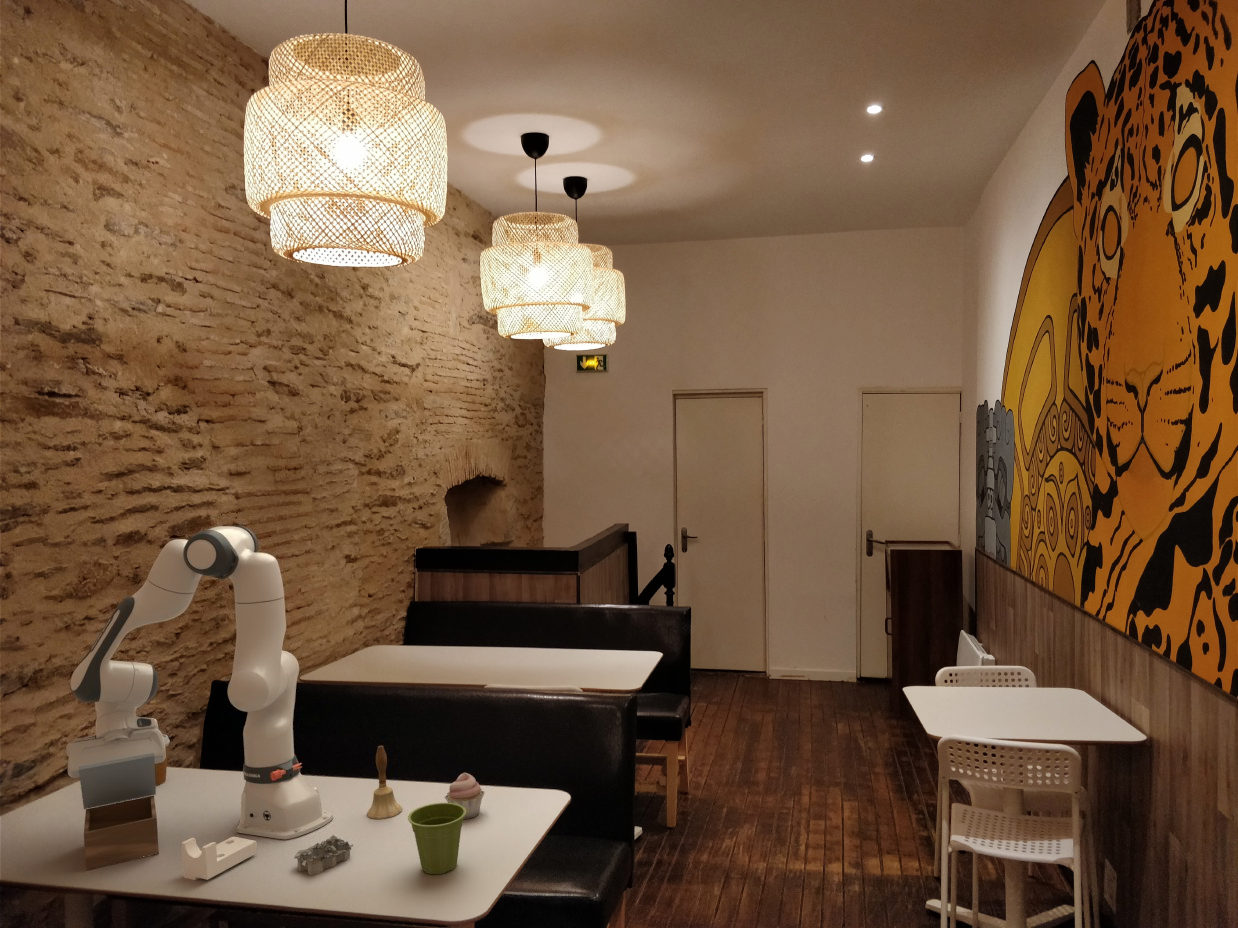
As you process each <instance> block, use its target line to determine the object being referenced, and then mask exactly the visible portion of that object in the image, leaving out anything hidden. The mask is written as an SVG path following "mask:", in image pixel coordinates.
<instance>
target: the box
mask: <svg viewBox="0 0 1238 928" xmlns="http://www.w3.org/2000/svg"><path fill="white" fill-rule="evenodd" d="M155 800H156V799H155V795H151V796H146V797H141V798H137V799H132V800H127V801H122V802H117V803H112V804H107V805H102V806H97V807H92V808H87V809H85V814H84V815H85V816H84V829H83V843H84V844H83V845H84V860H85V861H84V862H85V871H91V870H95V869H98V868H99V869H100V868H103V867H107V866H112V865H116V863H117V864H120V862H121V863H125V862H129V861H128V860H130V861H133V860H132V859H134V860H137V858H138V859H141V858H140V857H143V856H147V857H149V856H148V855H151V856H154V854H155V855H159V854H160V850H159V849H160V847H159V835H158V834H159V833H158V832H159V831H158V818H157V817H158V816H157V810H156V809H157V808H156V801H155ZM158 853H159V854H158ZM143 858H144V857H143ZM124 861H125V862H124Z"/></svg>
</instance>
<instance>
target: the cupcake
mask: <svg viewBox="0 0 1238 928" xmlns="http://www.w3.org/2000/svg"><path fill="white" fill-rule="evenodd" d="M448 789H449V792H446V795H445V796H444V799H445V801H446V803H455V804H459V805H461V806H463V807H464V808H465V809H466V814H465V816H464V817H463V820H467V819H471V818H474V817H477V816H478V815H479V813H480V810H481V805H482V799H483V798H484V795H485V793H486V792H485V791H484V790H483V789H482V788H481V785H480V784H479V782H478V781H476V778H475V777H474V776H473V775H471V774H470V773H467V772H463V773H461V774H460V775H458V777H457V778H456V780H455V781H453V782H452V783H451V784H450V785H449V788H448Z"/></svg>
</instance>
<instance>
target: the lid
mask: <svg viewBox="0 0 1238 928" xmlns="http://www.w3.org/2000/svg"><path fill="white" fill-rule="evenodd" d="M79 776H80V777H79V783H80V790H81V798H82V805H83V810H86V809H89V808H94V807H99V806H104V805H109V804H114V803H119V802H124V801H129V800H134V799H139V798H143V797H148V796H153V795H154V796H156V795H157V789H156V787H157V786H156V784H155V758H154V753H150V754H145V755H139V756H134V757H128V758H123V759H118V760H112V761H107V762H101V763H96V764H90V765H85V766H79Z"/></svg>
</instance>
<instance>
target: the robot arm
mask: <svg viewBox="0 0 1238 928" xmlns="http://www.w3.org/2000/svg"><path fill="white" fill-rule="evenodd" d="M258 550H259V540H258V538H257V536H256V534H255V533H254V532H253V531H252V530H251V529H249V528H247V527H245V526H242V525H236V524H234V525H233V524H232V525H228V526H227V525H226V526H224V525H221V526H216V527H215V526H214V527H211V528H208V529H204V530H200V531H198V532H196V533H195V534H193V535H192V536H191V537H190V538H189V539H184V538H179V539H178V538H176V539H172V540H170V541H168V542H167V543H166V544H165V545H164V546H163V548H162V549H161V550H160V552H159V554H158V556H157V558H156V559H155V561H154V562H153V565H152V567H151V569H150V571H149V573H148V576H147V578H146V580H145V582H144V584H143V585H142V586H141V587H140V588H139V590H137V591H136V592H135V593H134V594H132V595H131V596H129V597H128V596H127V597H126V598H123V599H122V601H120V602H119V604H118V606H117V607H116V608H115V610H114V611H113V613H112V614H111V615H110V617H109V619H108V620H107V621H106V623H105V624H104V627H103V628H102V630H101V631H100V633H99V634H98V636H97V638H96V639H95V641H94V642H93V644H92V646H91V647H90V648H89V650H88V652H87V653H86V655H85V656H84V657H83V658H82V660H80V662H79V663H78V664H77V666H76V667H75V668H74V671H73V673H72V675H71V677H70V683H69V689H70V691H71V693H72V694H73V696H74V697H75V698H76V699H77V700H78V701H80V702H81V703H94V709H95V711H96V719H95V735H88V736H84V737H78V738H77V737H76V738H73V740H71V741H70V742H68V744H67V745H66V747H65V749H66V753H65V754H66V756H67V757H68V761H67V774H68V776H69V777H70V778H71V779H78V778H80V776H79V766H85V765H90V764H96V763H101V762H107V761H112V760H118V759H123V758H128V757H134V756H139V755H145V754H150V753H154V758H155V764H156V763H161V762H163V761H164V760H165V758H166V750H165V743H164V739H163V736H162V734H163V733H162V732H161V730H160V729H159V725H158V720H157V719H156V718H153V717H143V716H142V717H141V716H137V713H136V712H137V709H138V708H142V707H143V706H145V705H146V704H147V703H148V702H149V701H151V700H152V699H153V698H154V697H155V695H156V694H157V692H158V690H159V675H158V672H157V670H156V669H155V667H154V666H153V665H152V664H149V663H146V662H145V663H144V662H135V661H123V660H122V661H121V660H113V659H112V657H113V655H114V654H115V652H116V651H117V649H118V647H119V646H120V644H121V642H122V641H123V640H124V638H125V637H126V635H127V634H128V633H130V632H131V631H133V630H135V629H138V628H140V627H143V626H146V625H151V624H156V623H157V624H158V623H163V622H166V621H170V620H174V619H176V618H177V617H178V616H181V615H182V614H183V613H185V611H186V610H188V608H189V606H190V605H191V602H192V601H193V598H194V595H195V593H196V591H197V588H198V586H199V583H200V580H201V578H202V577H203V576H207V577H211V578H215V579H219V580H226V579H227V578H228V579H229V580H230V581H231V583H232V587H233V593H234V609H235V627H236V639H235V640H236V641H235V649H234V655H233V665H232V672H231V673H232V674H231V678H230V680H229V682H228V686H227V697H228V700H229V702H230V704H231V705H232V706H233V707H234V708H236V709H237V710H239V711H242V712H245V713H247V716H246V721H245V725H244V726H243V733H242V736H243V748H244V749H243V751H244V762H243V765H242V766H243V767H242V773H243V780H244V782H245V783H244V787H243V790H242V792H241V801H240V823H239V824H238V826H237V827H236V832H237V833H239V834H244V835H245V834H246V835H251V836H259V837H266V838H271V839H276V840H277V839H279V840H290V839H293V838H298V837H300V836H303V835H307V834H309V833H311V832H313V831H315V830H318V829H319V828H321V827H323V826H326V825H327V824H329V823H330V822H331V821H332V820H333V819H334V815H333V814H334V813H332V812H330V811H328V810H326V809H324V808H323V807H322V800H321V796H320V794H319V790H318V787H316V786H312V785H311V784H310V782H309V781H308V780H307V779H306V778H305V776H303V775H302V774H301V769H302V768H303V766H301V765H302V764H303V763H302V762H300V763H299V761H298V758H297V755H296V754H295V748H294V746H295V745H294V729H293V728H294V725H293V724H294V723H293V722H294V711H295V710H294V709H295V703H296V694H297V693H296V689H297V681H298V677H299V673H300V665H299V662H298V659H297V658H296V657H295V656H294V654H293V653H291V652H289V651H286V650H283V645H284V639H285V635H286V633H287V632H286V631H287V618H286V604H285V602H286V601H285V589H284V584H283V583H284V582H283V578H282V577H283V576H282V572H281V569H280V565H279V562H278V560H277V559H276V557H275V556H273V554H272V555H271V554H269V553H266V552H258ZM111 659H112V660H111Z"/></svg>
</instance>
